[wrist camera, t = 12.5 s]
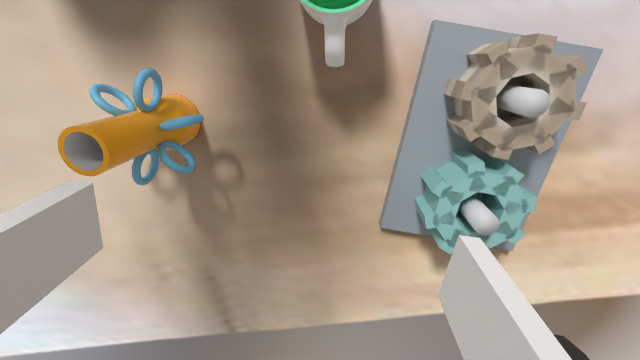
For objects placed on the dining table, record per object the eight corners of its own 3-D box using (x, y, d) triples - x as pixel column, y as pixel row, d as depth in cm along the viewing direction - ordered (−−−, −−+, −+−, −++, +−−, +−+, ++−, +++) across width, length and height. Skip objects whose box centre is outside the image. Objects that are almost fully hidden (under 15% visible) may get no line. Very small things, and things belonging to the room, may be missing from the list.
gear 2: (430, 142, 36) (443, 154, 31) (525, 159, 36) (553, 174, 31) (405, 226, 40) (414, 248, 35) (491, 241, 40) (511, 265, 35)
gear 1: (440, 54, 33) (456, 53, 28) (553, 27, 31) (590, 21, 27) (449, 154, 36) (465, 168, 32) (552, 134, 35) (584, 145, 30)
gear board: (431, 21, 33) (460, 9, 25) (592, 50, 33) (671, 46, 25) (379, 222, 42) (388, 259, 34) (506, 244, 42) (545, 287, 34)
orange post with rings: (242, 125, 38) (185, 162, 24) (191, 180, 41) (114, 241, 27) (161, 47, 36) (45, 38, 22) (113, 112, 39) (-17, 140, 25)
